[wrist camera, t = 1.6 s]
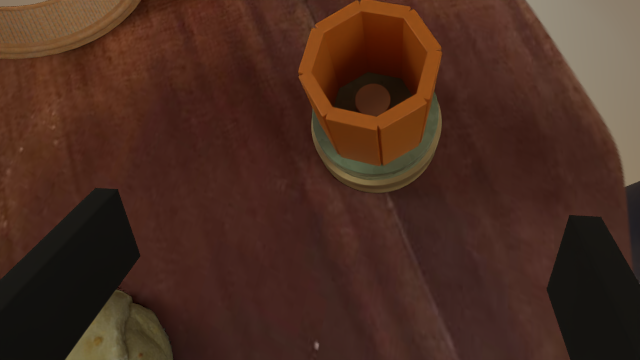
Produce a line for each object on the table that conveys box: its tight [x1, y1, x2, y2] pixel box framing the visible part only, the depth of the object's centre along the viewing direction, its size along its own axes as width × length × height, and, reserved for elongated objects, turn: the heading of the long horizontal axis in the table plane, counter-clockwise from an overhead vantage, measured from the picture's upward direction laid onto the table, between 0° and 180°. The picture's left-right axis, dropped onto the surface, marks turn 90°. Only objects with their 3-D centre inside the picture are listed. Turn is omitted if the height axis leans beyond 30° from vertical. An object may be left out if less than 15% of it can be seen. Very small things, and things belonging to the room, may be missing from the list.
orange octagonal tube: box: [298, 0, 442, 166], centre depth 29 cm, size 8×8×8 cm
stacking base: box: [311, 72, 442, 193], centre depth 34 cm, size 10×10×8 cm
